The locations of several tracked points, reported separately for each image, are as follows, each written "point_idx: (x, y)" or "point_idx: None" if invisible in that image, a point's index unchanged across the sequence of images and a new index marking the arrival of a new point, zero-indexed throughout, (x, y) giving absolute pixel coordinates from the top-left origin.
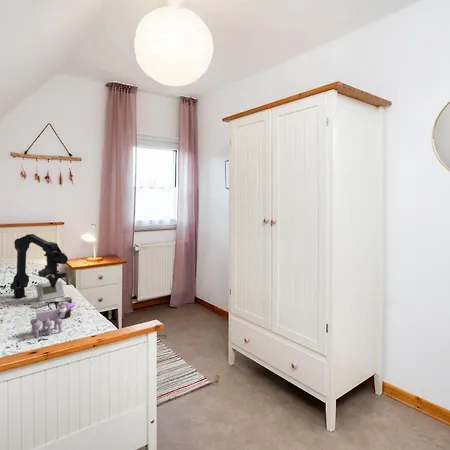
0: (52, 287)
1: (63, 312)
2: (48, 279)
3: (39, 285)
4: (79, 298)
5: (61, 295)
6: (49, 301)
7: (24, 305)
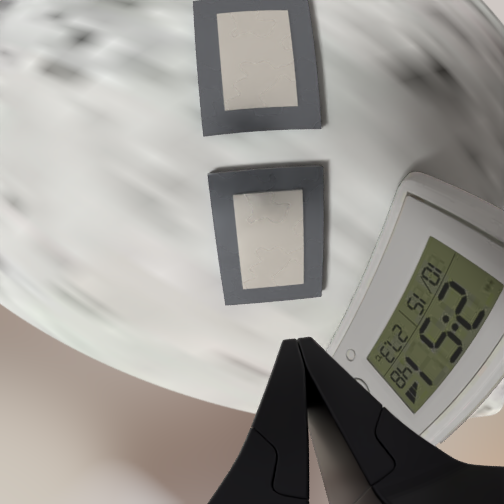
0: (288, 342)
1: None
2: (444, 480)
3: None
4: (165, 381)
5: None
6: (286, 201)
7: (416, 39)
